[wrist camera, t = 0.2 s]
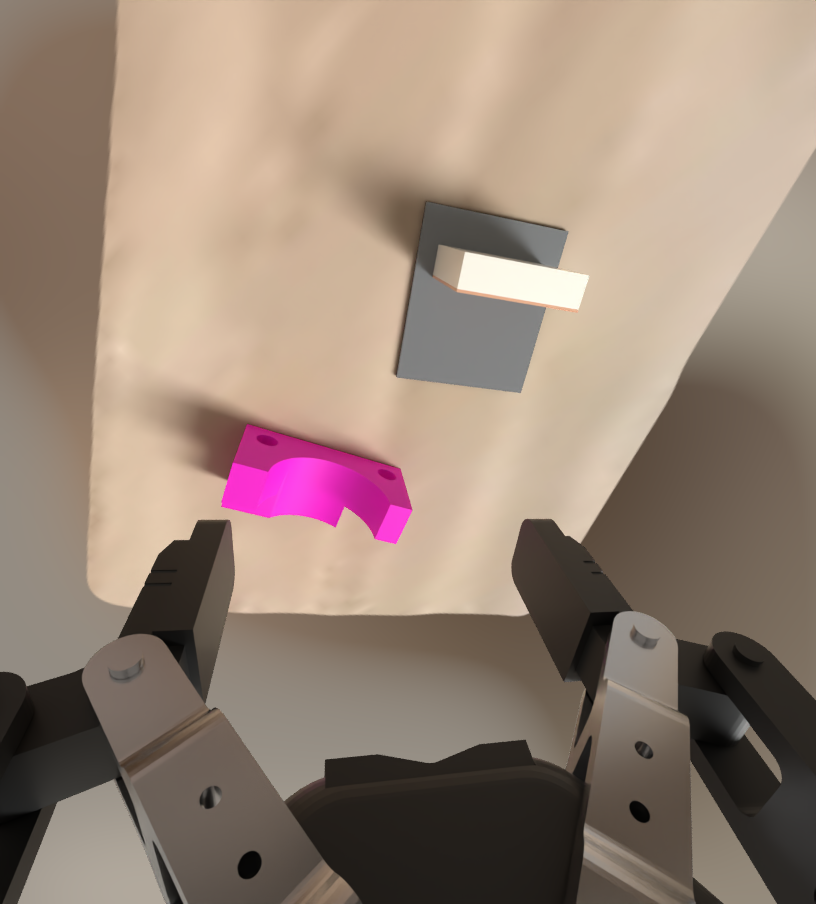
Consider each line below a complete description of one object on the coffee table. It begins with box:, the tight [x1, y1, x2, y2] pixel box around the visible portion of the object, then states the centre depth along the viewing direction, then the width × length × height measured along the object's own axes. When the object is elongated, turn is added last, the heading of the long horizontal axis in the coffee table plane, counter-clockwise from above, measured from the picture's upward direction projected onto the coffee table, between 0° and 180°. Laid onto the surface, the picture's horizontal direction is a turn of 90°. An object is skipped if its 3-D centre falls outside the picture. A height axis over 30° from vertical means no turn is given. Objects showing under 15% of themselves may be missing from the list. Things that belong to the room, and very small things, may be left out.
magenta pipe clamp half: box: [221, 424, 412, 544], centre depth 42 cm, size 15×6×8 cm, turn 67°
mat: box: [396, 202, 568, 393], centre depth 40 cm, size 14×12×1 cm
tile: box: [433, 244, 589, 312], centre depth 35 cm, size 2×9×8 cm, turn 80°
